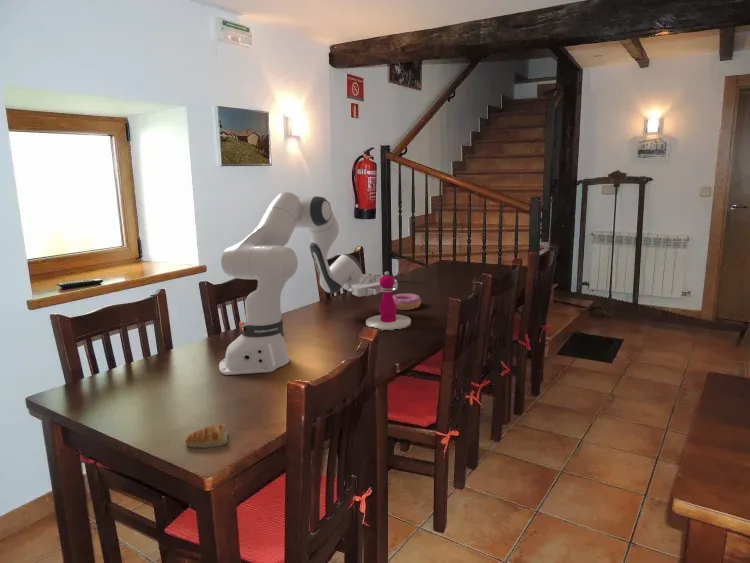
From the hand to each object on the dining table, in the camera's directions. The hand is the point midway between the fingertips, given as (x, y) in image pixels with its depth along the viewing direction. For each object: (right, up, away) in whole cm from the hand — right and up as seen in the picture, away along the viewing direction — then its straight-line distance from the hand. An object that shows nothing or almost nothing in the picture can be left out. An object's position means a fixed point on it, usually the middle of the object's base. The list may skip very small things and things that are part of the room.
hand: (386, 290), depth 212 cm
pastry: (-43, -34, -87) cm, 103 cm away
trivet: (+1, -13, +2) cm, 14 cm away
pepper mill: (+1, -12, +2) cm, 12 cm away
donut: (+9, -8, +28) cm, 31 cm away
